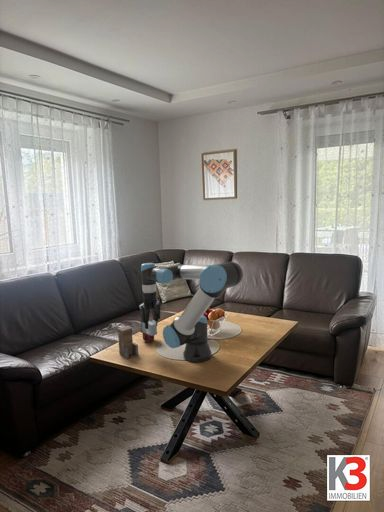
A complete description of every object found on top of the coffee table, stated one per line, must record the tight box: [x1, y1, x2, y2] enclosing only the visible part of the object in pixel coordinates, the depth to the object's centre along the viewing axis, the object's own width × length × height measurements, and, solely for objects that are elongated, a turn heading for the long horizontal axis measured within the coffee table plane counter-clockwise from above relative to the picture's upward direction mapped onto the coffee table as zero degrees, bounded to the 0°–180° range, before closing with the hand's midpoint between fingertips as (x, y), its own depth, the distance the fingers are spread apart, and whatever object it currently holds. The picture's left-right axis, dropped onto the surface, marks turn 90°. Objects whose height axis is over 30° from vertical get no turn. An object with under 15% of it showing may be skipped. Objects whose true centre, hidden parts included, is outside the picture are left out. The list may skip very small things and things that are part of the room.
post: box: [116, 325, 139, 360], centre depth 204 cm, size 9×7×15 cm
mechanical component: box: [139, 320, 155, 344], centre depth 225 cm, size 12×10×10 cm
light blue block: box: [140, 320, 158, 336], centre depth 203 cm, size 10×4×6 cm, turn 41°
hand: (151, 333), depth 202 cm, fingers closed on light blue block, 3 cm apart
